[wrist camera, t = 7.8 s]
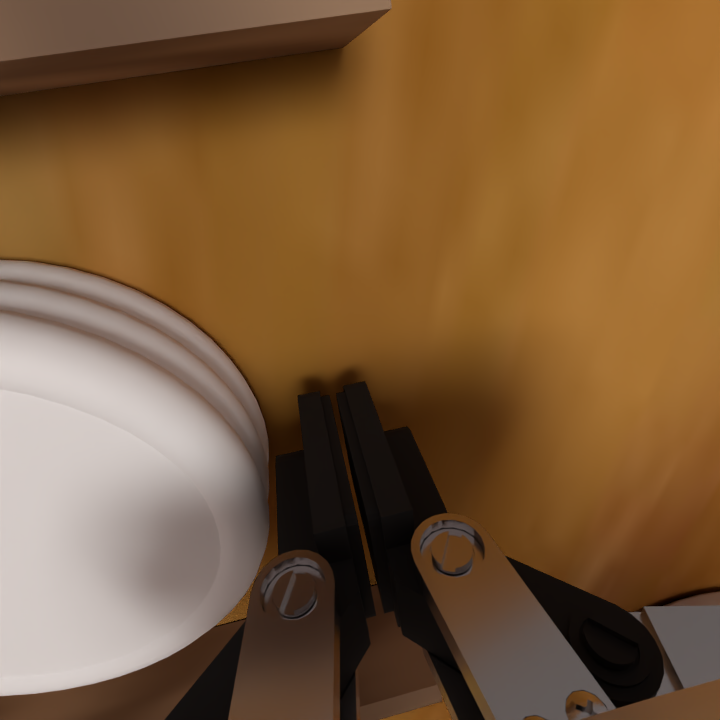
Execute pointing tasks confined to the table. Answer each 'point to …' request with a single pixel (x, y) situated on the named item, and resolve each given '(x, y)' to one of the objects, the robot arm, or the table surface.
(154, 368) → the white round tub
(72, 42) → the walnut frame
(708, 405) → the table surface
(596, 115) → the table surface
